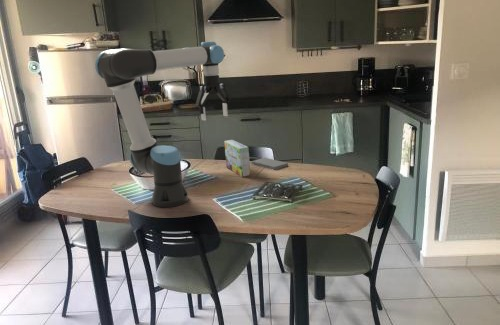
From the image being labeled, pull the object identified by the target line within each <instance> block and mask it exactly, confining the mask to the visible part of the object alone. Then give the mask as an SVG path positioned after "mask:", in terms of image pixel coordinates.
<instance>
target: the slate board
mask: <svg viewBox="0 0 500 325" xmlns="http://www.w3.org/2000/svg"><path fill="white" fill-rule="evenodd" d="M253 164H254V165H253ZM251 165H253V166H258V167H262V168H266V169H268V170H269V169H270V170H272V169H273V171H276V170H279V169H282V168H285V166H286V167H288V166H289V164H288V162H284V161H281V160H276V159H272V158H270V157H269V158H268V157H262V158H259V159H255V160H251Z"/></svg>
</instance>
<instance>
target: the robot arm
mask: <svg viewBox="0 0 500 325" xmlns="http://www.w3.org/2000/svg"><path fill="white" fill-rule="evenodd" d="M224 59H225V51H224V49H223V48H222V46H220V45H218V44H217V42H215V41H202V42H201V43H200V46H187V47H183V48H173V49H172V48H171V49H163V50H152V49H149V48H145V49H144V48H143V49H142V48H141V49H137V48H135V49H134V48H125V47H124V48H115V49H113V48H110V49H107V50H104V51H101V52H100V53H99V54H98V55H97V57H96V59H95V63H94V66H95V67H94V68H95V71H96V73H97V75H98V76H99V77H100V78H101V79H103V80H104V82H105V85H106V88H107V89H110V90H111V91H112V92H113V95H114V98H115V101H116V103H117V106H118V108H119V111H120V114H121V118H122V120H123V123H124V125H125V128H126V132H127V134H128V136H129V140H130V142H131V145H130V146H129V150H130V154H129V162H130V164H131V166H132V167H133V168H134V169H135V170H137V171H139V172H142V173H146V174H150V175H153V176H152V177H153V184H154V188H153V192H152V197H151V202H152V205H153V206H155V207H158V208H173V207H178V206H181V205H183V204H185V203H187V202H188V201H189V195H188V192H187V189H186V188H185V185H184V183H183V175H182V166H181V163H182V162H181V156H180V151H179V149H178V148H177V147H175V146H174V145H173V146H172V145H165V144H164V145H163V144H162V145H158V142H157V139H156V138H154V137H152V136H151V133H150V130H149V127H148V124H147V121H146V117H145V114H144V112H143V110H142V106H141V103H140V100H139V98H138V94H137V91H136V88H135V85H134V84H135V82H136V79H137V78H141V77H145V76H150V75H154V74H156V72H159V71H166V70H172V69H173V70H174V69H180V68H188V67H193V66H201V65H202V69H203V70H202V71H203V72H202V73H203V83H204V86H203V85H201V86H200V85H199V88H198V90H199V92H198V95H197V97H196V102H195V103H194V104H195V107H198V109H199V115H200V118H201V121H203V122H204V121H207V118H206V117H207V116H206V107H205V105H206V103H207V101H208V99H209V97H210V96H211V95H216V96H218V97H219V99H221V101H222V113H223V114H222V116H223V117H228V116H229V114H228V110H229V103H230V102H232V99H231V97H230V94H229V93H228V91H227V89H226V85H225V83H220V75H219V74H220V70H219V68H220V67H219V63H221V62H223V60H224Z"/></svg>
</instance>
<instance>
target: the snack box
mask: <svg viewBox="0 0 500 325" xmlns="http://www.w3.org/2000/svg"><path fill="white" fill-rule="evenodd" d="M223 143H224V154H225V163H226V168H227V169H228V170H230V171H231V172H234V174H236V175H238V176H239V177H241V178H245V177H249V176H250V177H251V165H250V162H251V161H250V148H249V146H247V145H245V144H243V143H240V142H238V141H236V140H234V139H229V140H228V139H227V140H224V141H223Z"/></svg>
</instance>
